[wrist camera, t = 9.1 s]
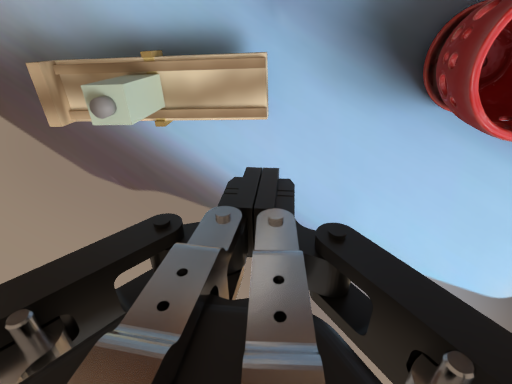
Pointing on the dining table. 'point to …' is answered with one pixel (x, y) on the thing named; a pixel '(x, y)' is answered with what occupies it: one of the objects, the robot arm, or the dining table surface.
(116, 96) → the block
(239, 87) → the beam
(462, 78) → the plant pot
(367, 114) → the dining table surface
